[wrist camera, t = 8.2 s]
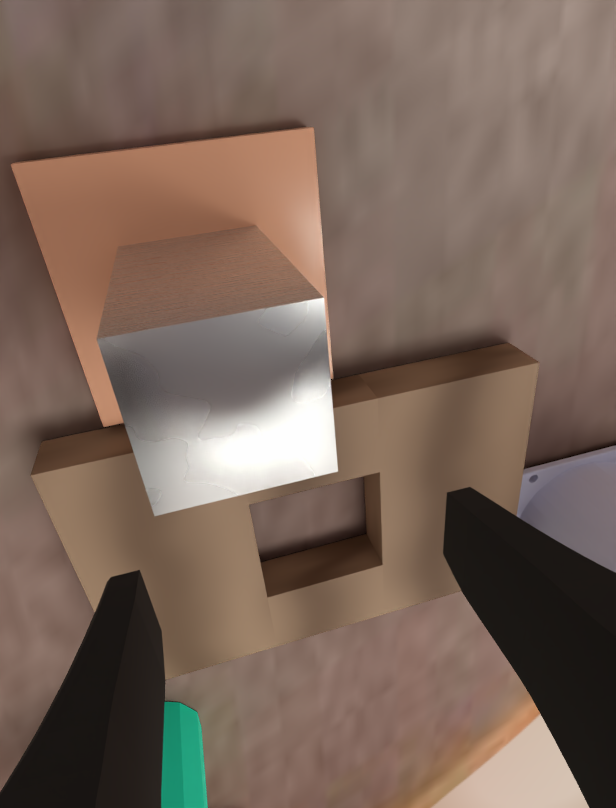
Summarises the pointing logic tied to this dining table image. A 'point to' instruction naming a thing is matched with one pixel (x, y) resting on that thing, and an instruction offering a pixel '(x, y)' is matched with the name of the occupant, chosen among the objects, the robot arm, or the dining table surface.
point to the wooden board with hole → (356, 456)
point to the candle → (182, 759)
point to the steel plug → (218, 367)
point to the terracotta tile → (166, 217)
